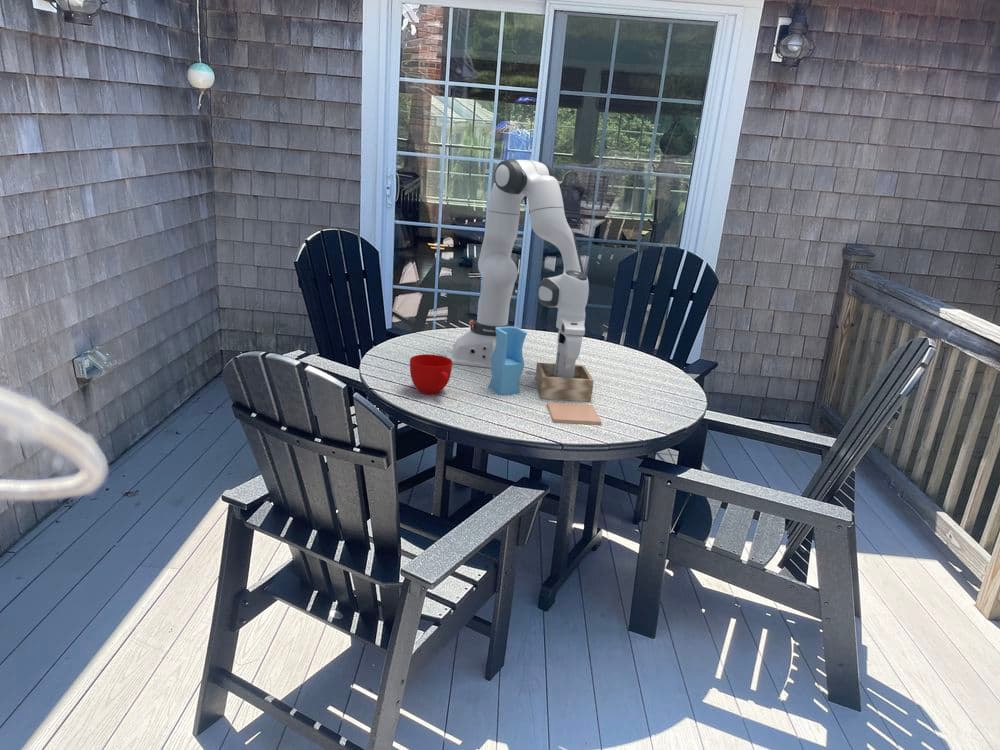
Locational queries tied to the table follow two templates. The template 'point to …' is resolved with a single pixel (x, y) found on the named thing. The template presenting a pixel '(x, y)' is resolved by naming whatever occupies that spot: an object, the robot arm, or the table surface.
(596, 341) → the table surface
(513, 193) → the robot arm
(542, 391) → the frame
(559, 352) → the travel mug
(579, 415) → the terracotta tile
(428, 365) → the ceramic cup
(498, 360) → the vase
